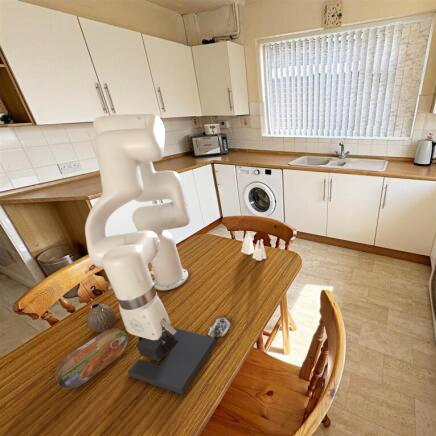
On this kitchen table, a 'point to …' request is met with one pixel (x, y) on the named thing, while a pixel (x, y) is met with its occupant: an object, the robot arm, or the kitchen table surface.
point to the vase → (100, 317)
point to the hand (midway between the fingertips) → (158, 346)
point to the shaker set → (249, 248)
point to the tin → (91, 358)
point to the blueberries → (219, 328)
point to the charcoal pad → (176, 362)
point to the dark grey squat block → (151, 348)
